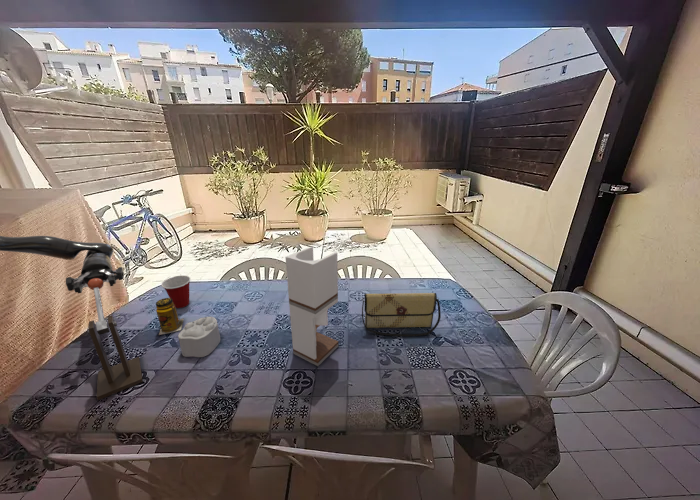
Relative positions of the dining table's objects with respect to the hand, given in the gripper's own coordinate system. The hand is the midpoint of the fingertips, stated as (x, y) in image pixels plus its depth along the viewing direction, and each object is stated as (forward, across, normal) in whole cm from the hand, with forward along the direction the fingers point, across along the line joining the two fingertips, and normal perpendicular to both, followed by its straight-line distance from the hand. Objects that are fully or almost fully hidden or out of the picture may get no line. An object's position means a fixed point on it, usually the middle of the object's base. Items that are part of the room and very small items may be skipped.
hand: (95, 286), depth 81 cm
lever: (+4, 0, +5) cm, 7 cm away
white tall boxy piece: (+39, +52, +26) cm, 70 cm away
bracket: (+12, 0, +26) cm, 28 cm away
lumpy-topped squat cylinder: (+11, +23, +26) cm, 36 cm away
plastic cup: (-24, +22, +26) cm, 42 cm away
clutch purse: (+50, +82, +26) cm, 100 cm away
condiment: (-8, +16, +26) cm, 32 cm away
